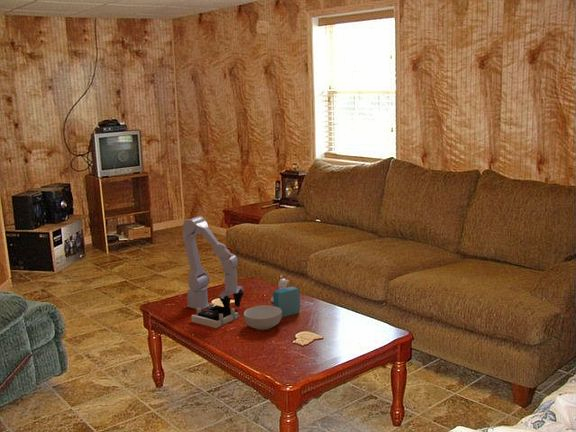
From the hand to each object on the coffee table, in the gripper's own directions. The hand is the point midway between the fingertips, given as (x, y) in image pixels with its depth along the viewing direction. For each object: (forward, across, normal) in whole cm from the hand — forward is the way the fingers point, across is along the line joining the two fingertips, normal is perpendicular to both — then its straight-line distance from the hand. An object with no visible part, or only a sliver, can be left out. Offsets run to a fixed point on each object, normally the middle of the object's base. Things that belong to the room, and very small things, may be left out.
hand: (232, 308), depth 301 cm
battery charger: (+2, -11, +1) cm, 11 cm away
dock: (+1, -11, 0) cm, 11 cm away
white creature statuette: (+2, +24, -12) cm, 27 cm away
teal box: (+2, +11, -24) cm, 26 cm away
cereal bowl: (+2, -7, -24) cm, 25 cm away
